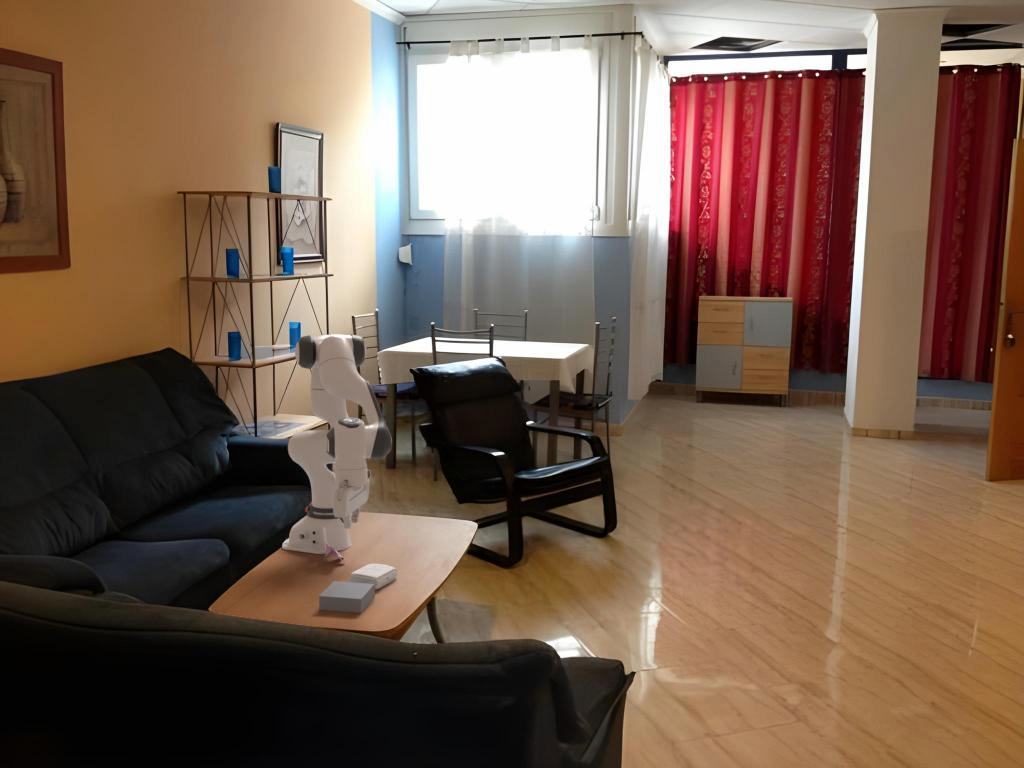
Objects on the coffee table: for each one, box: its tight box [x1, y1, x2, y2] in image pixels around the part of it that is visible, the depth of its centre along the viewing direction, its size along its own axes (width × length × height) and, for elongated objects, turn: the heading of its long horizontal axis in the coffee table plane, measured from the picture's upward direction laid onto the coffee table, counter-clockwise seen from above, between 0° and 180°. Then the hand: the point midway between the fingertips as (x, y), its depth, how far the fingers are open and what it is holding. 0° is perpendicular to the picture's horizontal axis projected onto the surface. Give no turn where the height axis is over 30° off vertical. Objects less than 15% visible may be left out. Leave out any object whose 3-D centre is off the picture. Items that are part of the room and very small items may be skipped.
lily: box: [320, 534, 346, 565], centre depth 287 cm, size 12×12×10 cm
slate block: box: [318, 580, 376, 614], centre depth 255 cm, size 12×12×4 cm
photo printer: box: [348, 563, 398, 590], centre depth 272 cm, size 10×4×12 cm
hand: (351, 525), depth 256 cm, fingers open, 5 cm apart
